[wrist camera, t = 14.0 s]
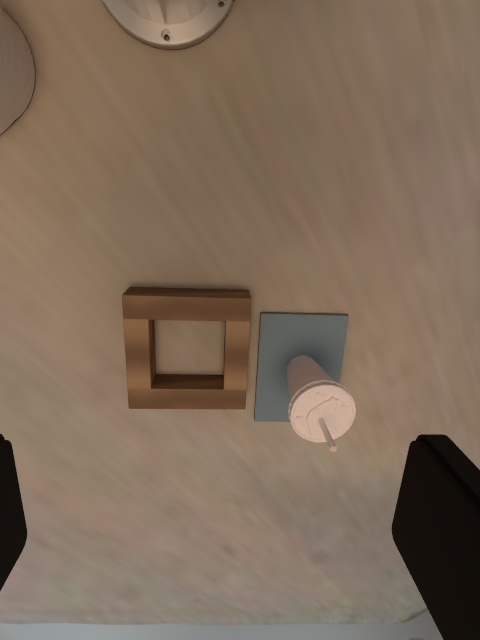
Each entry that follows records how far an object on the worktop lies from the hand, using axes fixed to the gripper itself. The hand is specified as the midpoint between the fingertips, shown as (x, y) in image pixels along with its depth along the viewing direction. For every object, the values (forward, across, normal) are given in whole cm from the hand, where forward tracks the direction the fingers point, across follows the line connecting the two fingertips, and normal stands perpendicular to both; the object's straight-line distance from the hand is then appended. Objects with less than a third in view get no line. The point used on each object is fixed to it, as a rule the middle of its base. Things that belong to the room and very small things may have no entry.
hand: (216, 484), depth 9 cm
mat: (+33, -10, +13) cm, 37 cm away
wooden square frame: (+33, +3, +10) cm, 35 cm away
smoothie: (+33, -10, +13) cm, 37 cm away
